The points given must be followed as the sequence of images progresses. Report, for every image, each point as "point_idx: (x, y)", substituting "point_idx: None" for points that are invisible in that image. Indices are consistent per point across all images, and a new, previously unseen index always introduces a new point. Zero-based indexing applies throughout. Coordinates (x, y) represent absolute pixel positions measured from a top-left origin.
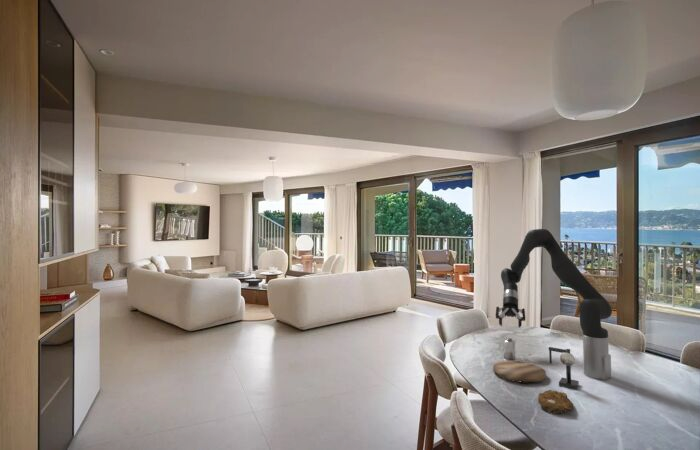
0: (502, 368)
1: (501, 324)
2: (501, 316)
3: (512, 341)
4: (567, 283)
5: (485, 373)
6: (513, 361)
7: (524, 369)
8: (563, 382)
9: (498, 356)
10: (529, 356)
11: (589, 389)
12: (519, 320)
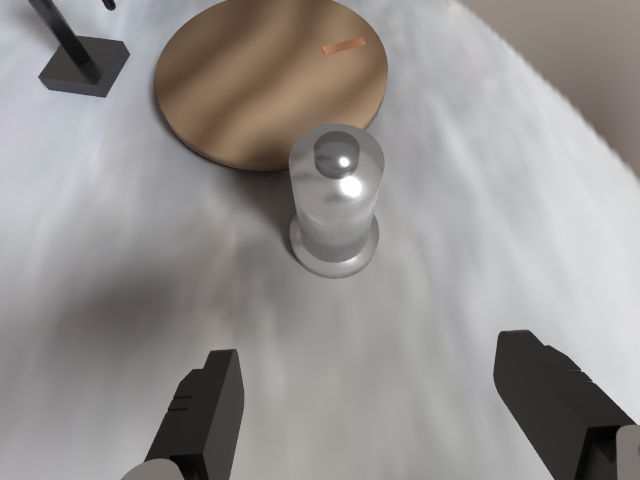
0: (341, 43)
1: (502, 338)
2: (627, 452)
3: (309, 153)
4: None
5: (407, 50)
6: None
7: (246, 68)
8: (105, 43)
9: (415, 302)
10: None
11: (25, 67)
12: (189, 426)
